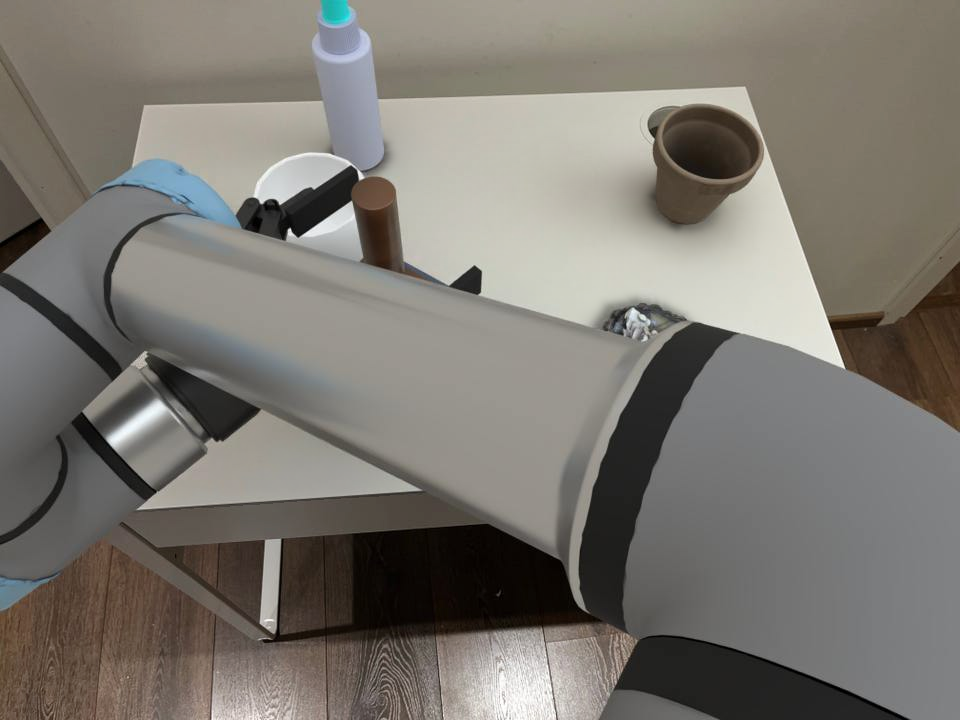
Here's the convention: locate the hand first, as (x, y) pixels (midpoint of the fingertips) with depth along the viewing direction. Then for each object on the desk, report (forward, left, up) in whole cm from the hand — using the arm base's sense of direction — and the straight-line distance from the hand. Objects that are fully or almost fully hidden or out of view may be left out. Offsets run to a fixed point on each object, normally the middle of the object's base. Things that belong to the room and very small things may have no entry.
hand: (415, 226), depth 53 cm
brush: (+1, +3, -8) cm, 9 cm away
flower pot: (-14, -34, -21) cm, 42 cm away
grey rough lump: (-19, -13, -21) cm, 31 cm away
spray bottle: (+23, -19, -21) cm, 36 cm away
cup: (+17, -5, -21) cm, 27 cm away
